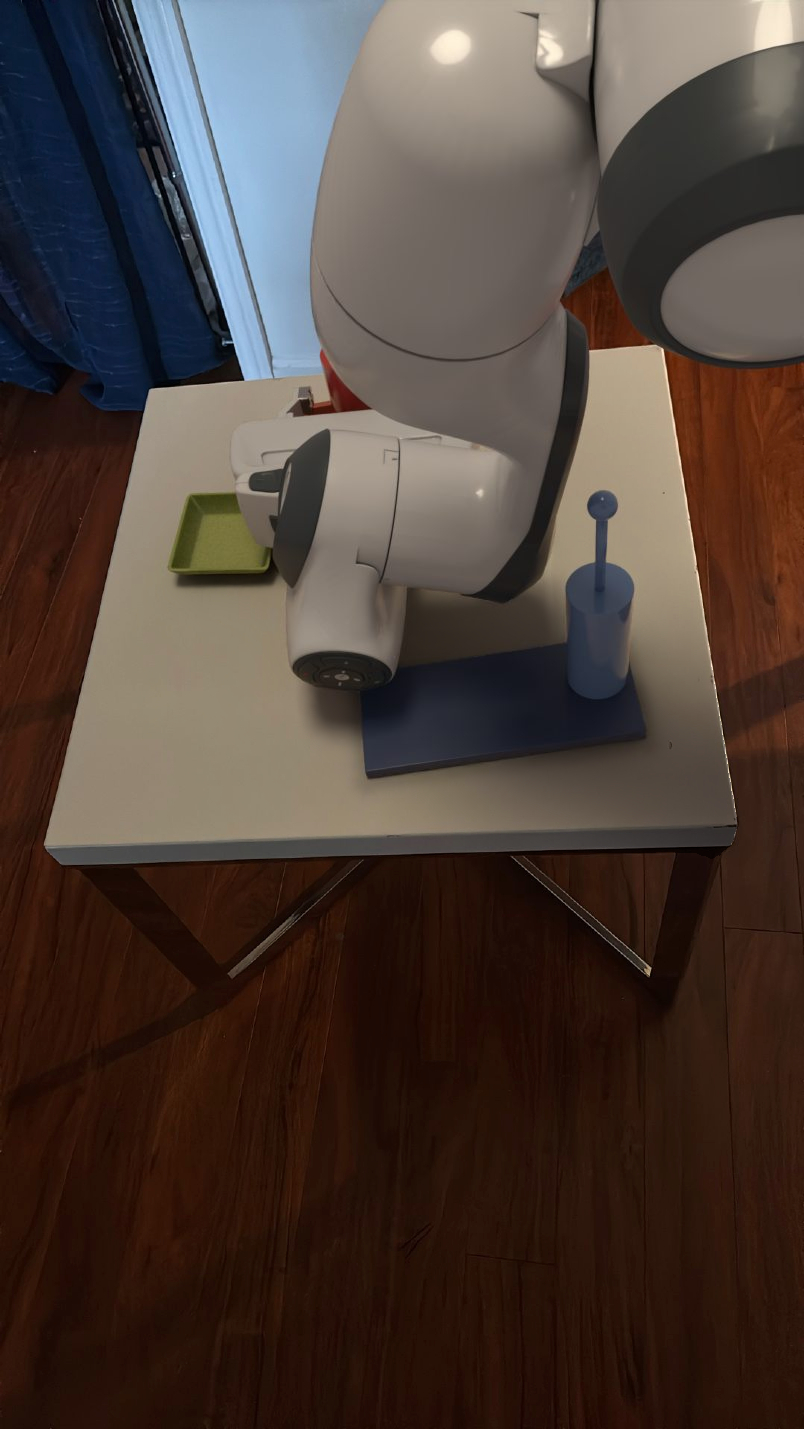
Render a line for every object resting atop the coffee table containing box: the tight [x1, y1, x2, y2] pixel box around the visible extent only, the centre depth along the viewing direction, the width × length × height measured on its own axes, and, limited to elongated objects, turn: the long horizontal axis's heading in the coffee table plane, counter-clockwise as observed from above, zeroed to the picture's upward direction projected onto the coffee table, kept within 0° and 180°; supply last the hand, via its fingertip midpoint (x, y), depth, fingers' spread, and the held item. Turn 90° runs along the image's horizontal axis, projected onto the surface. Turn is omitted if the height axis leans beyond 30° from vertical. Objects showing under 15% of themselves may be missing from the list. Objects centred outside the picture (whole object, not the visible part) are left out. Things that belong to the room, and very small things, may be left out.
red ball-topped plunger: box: [319, 348, 372, 413], centre depth 84 cm, size 4×4×18 cm
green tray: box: [167, 491, 273, 575], centre depth 88 cm, size 9×9×2 cm
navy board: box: [358, 641, 647, 779], centre depth 76 cm, size 20×9×1 cm, turn 95°
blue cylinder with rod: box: [564, 489, 635, 699], centre depth 68 cm, size 4×4×18 cm
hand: (358, 387), depth 88 cm, fingers open, 8 cm apart
